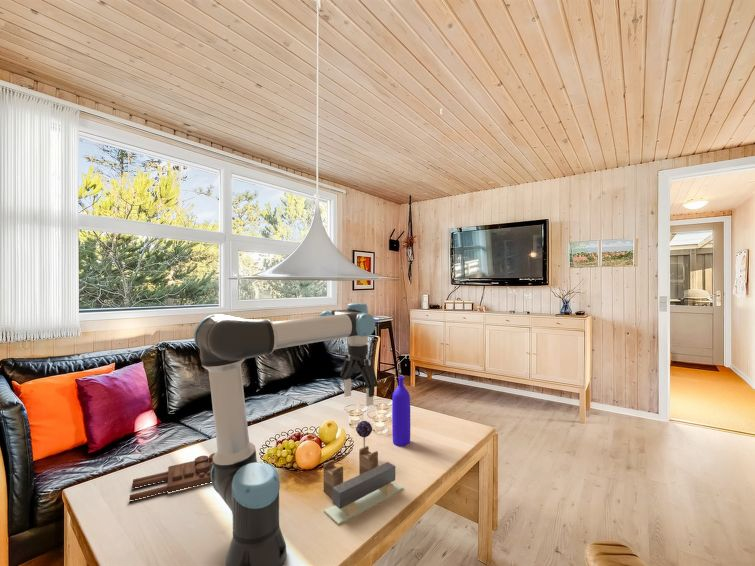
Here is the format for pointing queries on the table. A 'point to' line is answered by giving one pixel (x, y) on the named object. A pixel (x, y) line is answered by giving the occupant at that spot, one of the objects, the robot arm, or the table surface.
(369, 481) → the rail
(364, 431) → the lollipop
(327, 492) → the rack
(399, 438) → the bottle
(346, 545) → the table surface
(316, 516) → the table surface
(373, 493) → the board
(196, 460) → the miniature factory model
